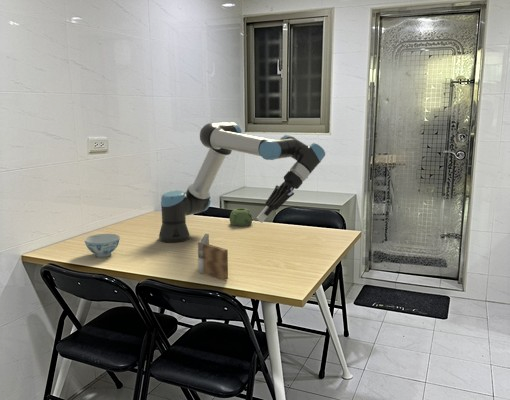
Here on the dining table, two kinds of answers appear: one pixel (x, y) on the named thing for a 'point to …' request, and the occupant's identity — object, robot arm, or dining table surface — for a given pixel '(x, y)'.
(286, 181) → the robot arm
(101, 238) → the chinaware
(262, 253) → the dining table surface
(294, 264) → the dining table surface
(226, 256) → the brown flat wooden board
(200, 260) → the hinge panel
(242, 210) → the green round pot
